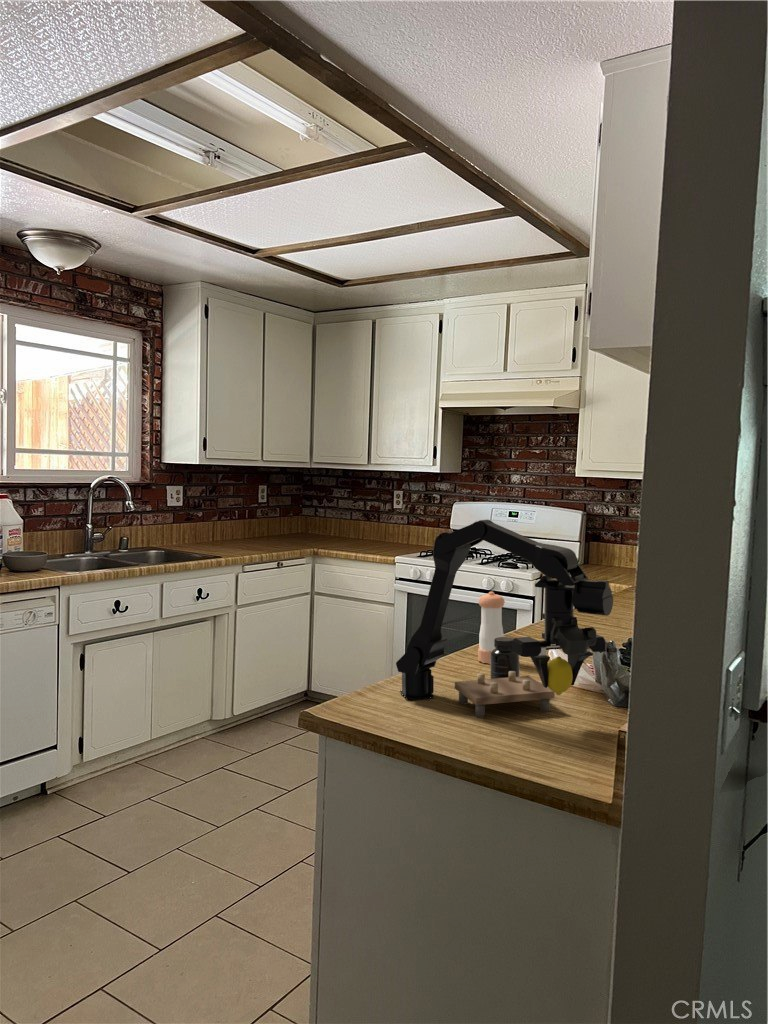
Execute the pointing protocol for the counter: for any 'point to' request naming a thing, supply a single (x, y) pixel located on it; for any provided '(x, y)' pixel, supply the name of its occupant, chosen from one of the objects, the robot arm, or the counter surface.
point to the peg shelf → (503, 692)
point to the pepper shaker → (489, 624)
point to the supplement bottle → (503, 658)
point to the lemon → (559, 675)
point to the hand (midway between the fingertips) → (558, 686)
